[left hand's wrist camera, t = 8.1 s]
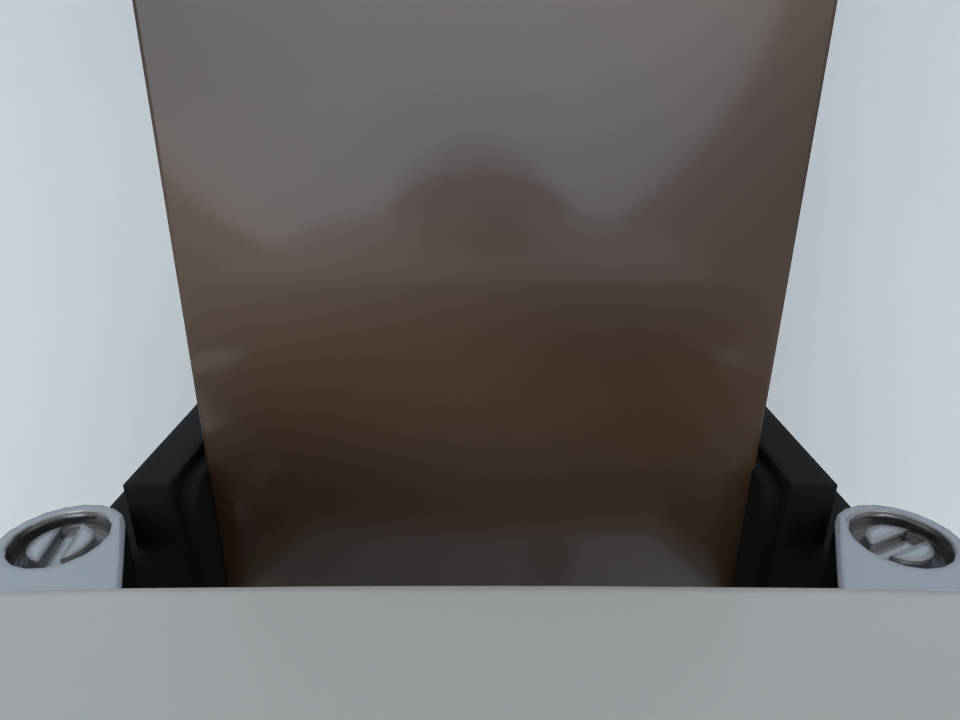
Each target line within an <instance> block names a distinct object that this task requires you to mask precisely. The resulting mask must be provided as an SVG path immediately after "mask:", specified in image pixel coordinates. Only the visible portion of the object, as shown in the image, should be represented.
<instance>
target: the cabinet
mask: <svg viewBox="0 0 960 720" xmlns="http://www.w3.org/2000/svg"><path fill="white" fill-rule="evenodd" d="M132 2H133V8H134V14H135V20H136V26H137V32H138V39H139V45H140V51H141V57H142V63H143V70H144V76H145V82H146V88H147V94H148V101H149V107H150V113H151V119H152V125H153V132H154V138H155V144H156V150H157V156H158V162H159V169H160V175H161V181H162V187H163V193H164V200H165V206H166V212H167V218H168V224H169V231H170V237H171V243H172V249H173V255H174V261H175V268H176V274H177V280H178V286H179V292H180V299H181V305H182V311H183V317H184V323H185V330H186V336H187V342H188V348H189V354H190V360H191V367H192V373H193V379H194V385H195V391H196V398H197V404H198V410H199V416H200V422H201V429H202V435H203V441H204V447H205V453H206V460H207V466H208V472H209V478H210V483H211V489H212V495H213V501H214V507H215V513H216V519H217V525H218V531H219V537H220V543H221V549H222V555H223V561H224V567H225V573H226V579H227V585H228V587H306V586H631V587H733V581H734V575H735V570H736V564H737V558H738V552H739V546H740V540H741V534H742V528H743V523H744V517H745V511H746V505H747V499H748V493H749V487H750V481H751V475H752V470H753V469H755V463H756V458H757V452H758V447H759V441H760V435H761V430H762V424H763V418H764V413H765V407H766V401H767V396H768V390H769V384H770V379H771V373H772V367H773V362H774V356H775V350H776V345H777V339H778V333H779V328H780V322H781V317H782V311H783V305H784V300H785V294H786V288H787V283H788V277H789V271H790V266H791V260H792V254H793V249H794V243H795V237H796V232H797V226H798V220H799V215H800V209H801V203H802V198H803V192H804V187H805V181H806V175H807V170H808V164H809V158H810V153H811V147H812V141H813V136H814V130H815V124H816V119H817V113H818V107H819V102H820V96H821V90H822V85H823V79H824V73H825V68H826V62H827V56H828V51H829V45H830V40H831V34H832V28H833V23H834V17H835V11H836V6H837V0H132Z"/></svg>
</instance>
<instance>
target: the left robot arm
mask: <svg viewBox="0 0 960 720" xmlns="http://www.w3.org/2000/svg"><path fill="white" fill-rule="evenodd" d="M123 487H124V492H123V493H122V494H121V495H120V496H119V498H118V499H117V500H116V501H115V502H114V503H113V504H112V505H111V507H110V508H109V507H105V506H102V505H82V506H74V507H67V508H63V509H59V510H55V511H52V512H48V513H45V514H43V515H40V516H38V517H35V518H33V519H30V520H28V521H26V522H24V523H22V524H21V525H19V526H17V527H16V528H14V529H12V530H11V531H9V532H8V533H7V534H6V535H4V536H3V537H2V538H1V539H0V720H960V539H959V538H958V537H957V536H956V535H954V534H953V533H952V532H951V531H949V530H948V529H946V528H944V527H943V526H941V525H939V524H938V523H936V522H934V521H932V520H930V519H927V518H925V517H922V516H920V515H917V514H915V513H912V512H908V511H905V510H901V509H897V508H893V507H886V506H878V505H858V506H855V507H850V506H849V505H848V504H847V502H846V501H845V500H844V499H843V498H842V497H841V496H840V495H839V494H838V492H837V491H836V489H837V484H836V483H835V482H834V481H833V480H832V479H831V478H830V476H829V475H828V474H827V473H826V472H825V471H824V470H823V469H822V468H821V467H820V465H819V464H818V463H817V462H816V461H815V460H814V459H813V458H812V457H811V456H810V454H809V453H808V452H807V451H806V450H805V449H804V448H803V447H802V446H801V445H800V444H799V442H798V441H797V440H796V439H795V438H794V437H793V436H792V435H791V434H790V433H789V431H788V430H787V429H786V428H785V427H784V426H783V425H782V424H781V423H780V422H779V420H778V419H777V418H776V417H775V416H774V415H773V414H772V413H771V412H770V411H769V409H768V408H767V407H765V413H764V418H763V424H762V430H761V435H760V441H759V447H758V452H757V458H756V463H755V469H753V470H752V475H751V481H750V487H749V493H748V499H747V505H746V511H745V517H744V523H743V528H742V534H741V540H740V546H739V552H738V558H737V564H736V570H735V575H734V581H733V587H631V586H306V587H228V585H227V579H226V573H225V567H224V561H223V555H222V549H221V543H220V537H219V531H218V525H217V519H216V513H215V507H214V501H213V495H212V489H211V483H210V478H209V472H208V466H207V460H206V453H205V447H204V441H203V435H202V429H201V422H200V416H199V410H198V404H197V405H196V406H195V407H194V408H193V409H192V410H191V411H190V412H189V414H188V415H187V416H186V417H185V418H184V419H183V420H182V421H181V422H180V423H179V424H178V426H177V427H176V428H175V429H174V430H173V431H172V432H171V433H170V434H169V435H168V437H167V438H166V439H165V440H164V441H163V442H162V443H161V444H160V445H159V446H158V448H157V449H156V450H155V451H154V452H153V453H152V454H151V455H150V456H149V457H148V458H147V460H146V461H145V462H144V463H143V464H142V465H141V466H140V467H139V468H138V469H137V471H136V472H135V473H134V474H133V475H132V476H131V477H130V478H129V479H128V480H127V482H126V483H125V484H124V485H123Z"/></svg>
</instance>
